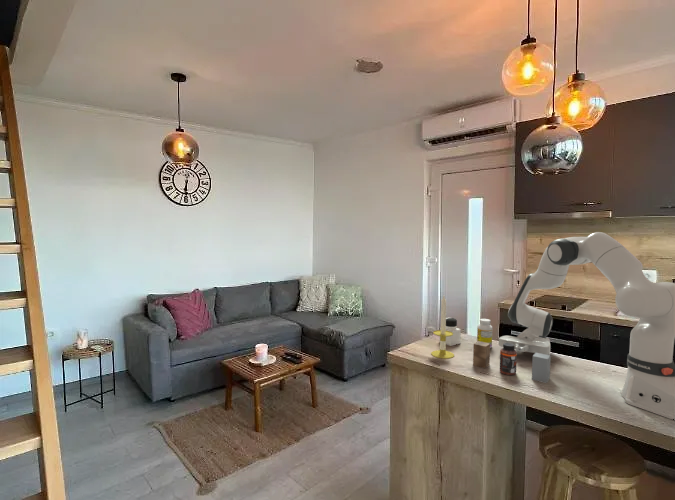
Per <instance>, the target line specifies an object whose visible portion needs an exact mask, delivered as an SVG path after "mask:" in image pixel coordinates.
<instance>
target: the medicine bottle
mask: <svg viewBox="0 0 675 500" xmlns="http://www.w3.org/2000/svg"><path fill="white" fill-rule="evenodd" d="M439 330H441V327H440V328H439ZM446 331H450V332H452V333H453V335H452V336H448V337H446V346H450V347H452V346H455V345H456V344H457V345H460V344H461V342H462V341H461V338H462V337H461V335H462V334H461V332H462V329H461V328H458V320H457V318H454V317H446Z"/></svg>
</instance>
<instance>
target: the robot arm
mask: <svg viewBox="0 0 675 500" xmlns="http://www.w3.org/2000/svg"><path fill="white" fill-rule="evenodd" d="M591 263H592V264H593V265H594V266H595V267H596V268H597V269H598V271H600V272H601V274H602V275H603V276H604V277H605V278H606V279H607V280H608V281H609V283H610V284H611V285H612V287H613V289H614V290H615V293H616V294H615V296H614V297H615V298H614V299H615V301H614V302H615V305H616V307H617V309H618V310H619V312H620V313H622V314H624V316H627V317H633V318H636V319H637V318H638V319H639V320H638V322H637V324H636V325H635V326H634V327H633V328H632V329H631V331H630V335H629V336H630V338H629V353H627V358H626V367H627V371H626V377H625V381H624V384H623V388H622V389H621V392H620V395H621V397H622V398H624V402H625V403H626V404H628V405H630V406H633V407H636V408H640V409H643V410H644V411H647V412H651V413H654V414H656V415H659V416H662V417H664V418H667V419H670V420H673V419H674V420H673V421H675V362H674V360H673V359H674V358H673V356H674V345H675V282H671V281H670V282H669V281H661V282H660V281H659V282H653V281H652V280H649V279H648V278H647V277H646V275H645V273H644V272H643V269H644V265H643V263H642V261H640V260H639V259H638V258H637V257H636V256H635V255H634V254H633V253H632V252H631V251H630V250H628V249H627V248H626V247H625V246H624V245H623V243H622V244H621V243H620V242H619V241H618V240H616V239H615V238H614V237H612V236H610V235H609V234H607V233H606V232H601V231H595V232H593V233H591V234H589V235H587V236H569V237H564V238H563V237H562V238H558V239H554V240H553V241H551V242H549V244H548V246H547V247H546V248H545V249H544V251H543V253H542V256H541V257H540V261H539V263H538V267H537V270H536V271H535V272H532V273H529V274H528V275H527V276H526V277H525V279H524V281H523V282H522V285H521V287H520V289H519V291H518V293H517V294H516V297H515V299H514V301H513V303H512V304H511V305H510V307H509V309H508V311H507V317H508V318H509V320H510V321H511V323H514V324H517V325H521V326H524V327H527V328H526V329H524V330H523V331H522V332H521V333H520V334H518V335H517V336H512V335H502V336H499V338H498V346H499V347H502V348H503V344H504V343H511V344H514V349H515V350H516V352H522V353H524V352H525V353H533V354H535V353H541V354H546V355H551V340H550V338H549V337H547V336H548V335H549V334H550V332H551V331H552V327H553V325H554V324H553V323H554V319H553V317H552V315H551V313H550V312H548V311H545V310H543V309H540V308H536V307H534V306H531V305H529V304H527V303H526V301H527V298H528V296H529V294H530V292H531V291H534V290H553V289H556V288H560V287H561V286H562V285H563V284H564V282H565V280H566V278H567V274H568V271H569V269H570V266H572V265H573V266H575V265H576V266H577V265H578V266H579V265H585V264H591Z"/></svg>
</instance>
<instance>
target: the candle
mask: <svg viewBox="0 0 675 500" xmlns="http://www.w3.org/2000/svg"><path fill="white" fill-rule="evenodd" d="M440 301H441V304H440V305H441V306H440V328H441V330H440V329H439V330H437V329H436V330H433V332H432V333H433V335H434V336H438V337H439V349H436V350H432V351H431V352H430V355H431V356H432V357H435V358H437V359H443V360H444V359H445V360H446V359H447V360H449V359H453V358H455V354H454V353H453V352H451V351H450V350H447V349H446V348H447V345H446V337H448V336H452V335H453V333H452V332H450V331H446V318H447V299H446V297H445V295H443V296H442V299H440Z"/></svg>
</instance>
